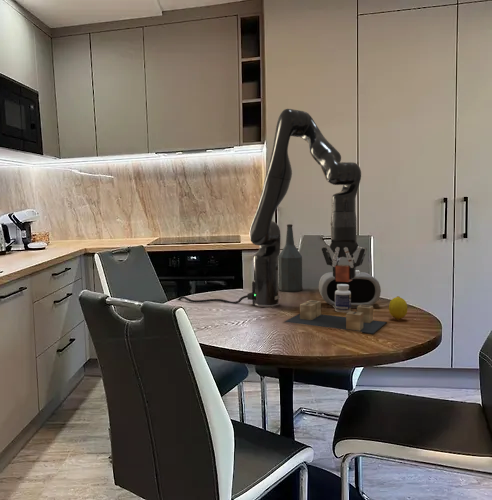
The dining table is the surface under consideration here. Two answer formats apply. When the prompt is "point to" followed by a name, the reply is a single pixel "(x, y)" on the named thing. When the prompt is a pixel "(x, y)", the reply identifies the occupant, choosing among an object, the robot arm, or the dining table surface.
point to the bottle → (290, 265)
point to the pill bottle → (342, 298)
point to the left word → (310, 310)
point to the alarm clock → (351, 289)
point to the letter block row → (359, 317)
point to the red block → (342, 273)
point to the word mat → (337, 323)
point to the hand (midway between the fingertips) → (344, 278)
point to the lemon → (398, 307)
